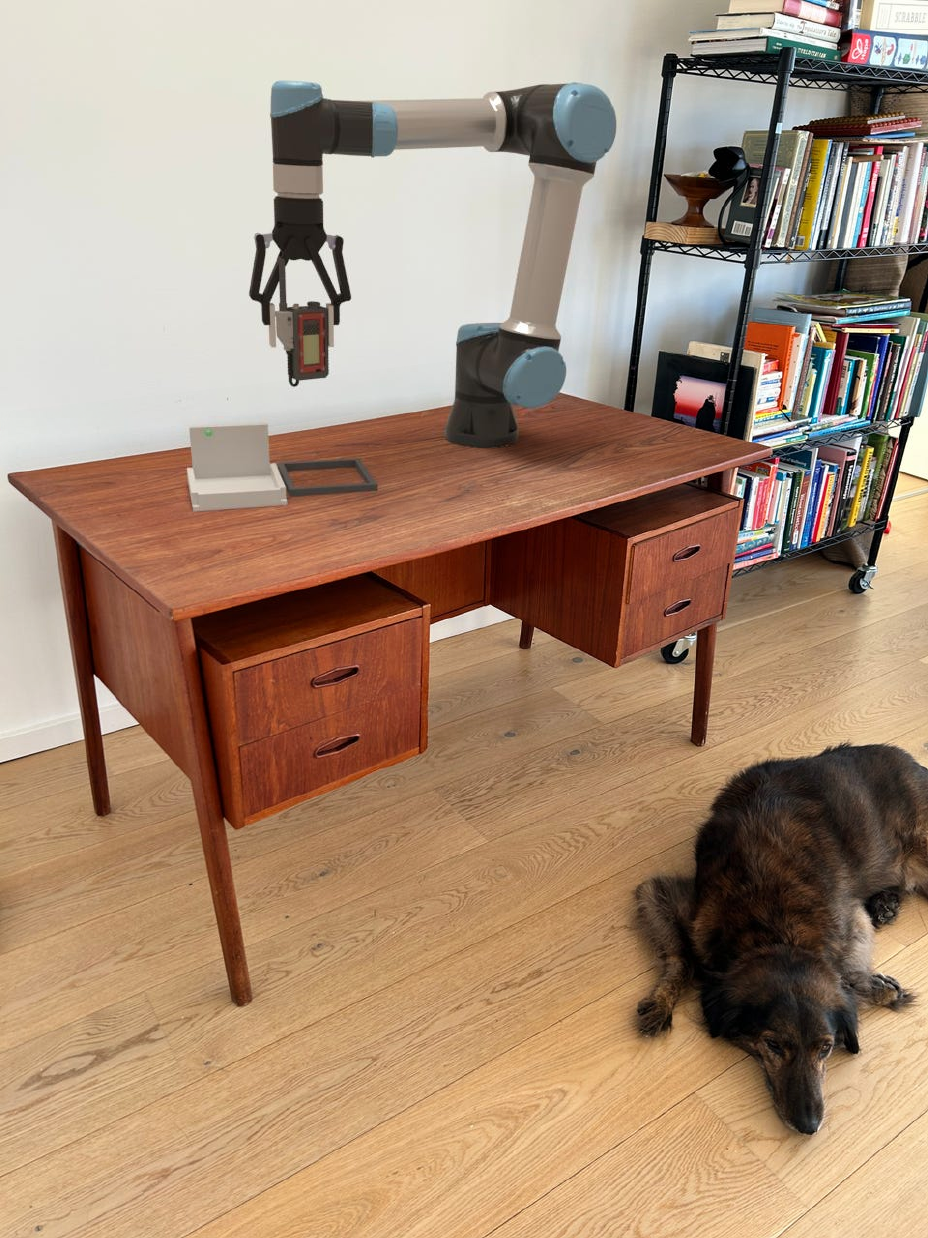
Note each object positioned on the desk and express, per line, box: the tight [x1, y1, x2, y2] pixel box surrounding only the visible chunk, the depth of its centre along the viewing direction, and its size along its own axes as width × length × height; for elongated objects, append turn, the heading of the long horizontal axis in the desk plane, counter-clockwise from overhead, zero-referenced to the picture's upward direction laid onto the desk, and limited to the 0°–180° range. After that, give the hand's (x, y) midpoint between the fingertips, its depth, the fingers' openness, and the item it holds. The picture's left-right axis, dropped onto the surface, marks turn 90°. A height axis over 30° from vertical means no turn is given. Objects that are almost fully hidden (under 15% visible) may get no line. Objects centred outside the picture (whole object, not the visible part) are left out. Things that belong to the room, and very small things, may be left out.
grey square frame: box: [277, 457, 378, 497], centre depth 171 cm, size 15×15×2 cm
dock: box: [186, 422, 288, 513], centre depth 161 cm, size 15×15×10 cm
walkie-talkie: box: [275, 259, 330, 388], centre depth 157 cm, size 9×4×20 cm, turn 127°
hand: (301, 345), depth 158 cm, fingers closed on walkie-talkie, 9 cm apart
